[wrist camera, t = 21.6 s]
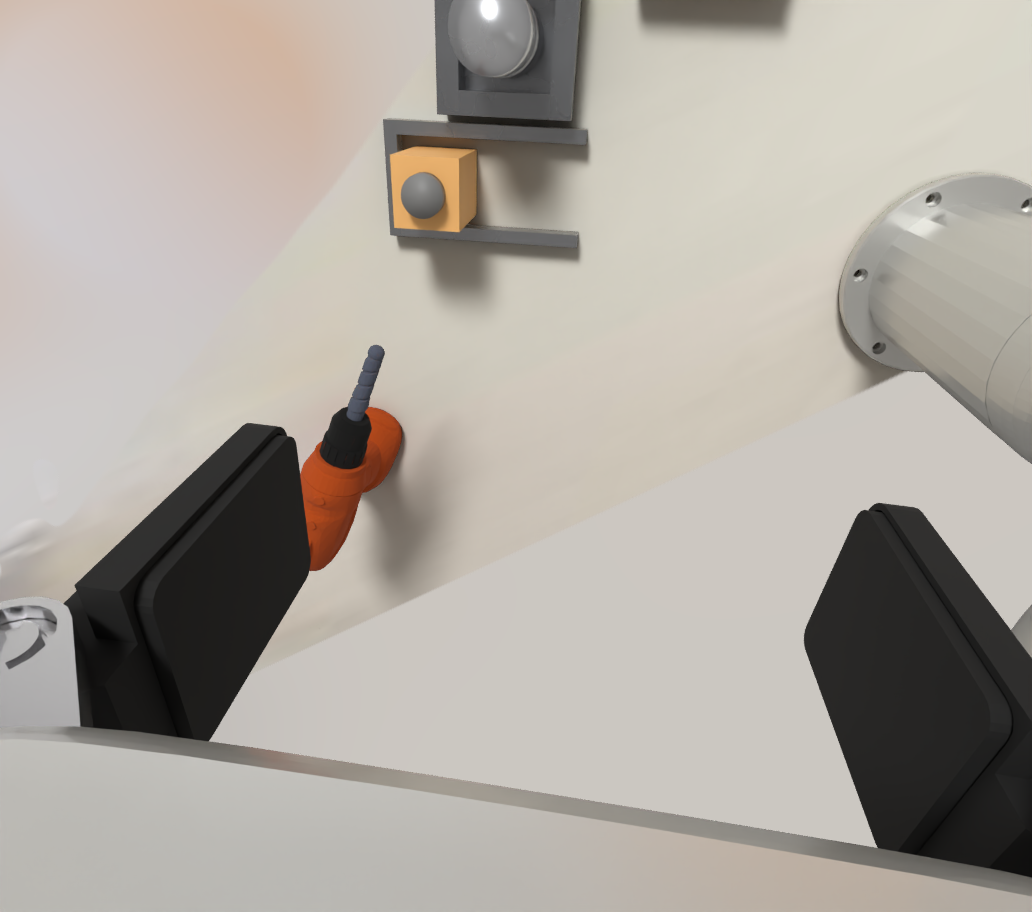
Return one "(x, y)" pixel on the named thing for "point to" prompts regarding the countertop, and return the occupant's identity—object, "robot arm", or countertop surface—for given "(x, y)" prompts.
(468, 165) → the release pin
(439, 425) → the countertop surface
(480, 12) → the silver metal cylinder
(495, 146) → the countertop surface
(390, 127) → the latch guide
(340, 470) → the toy drill
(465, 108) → the socket
